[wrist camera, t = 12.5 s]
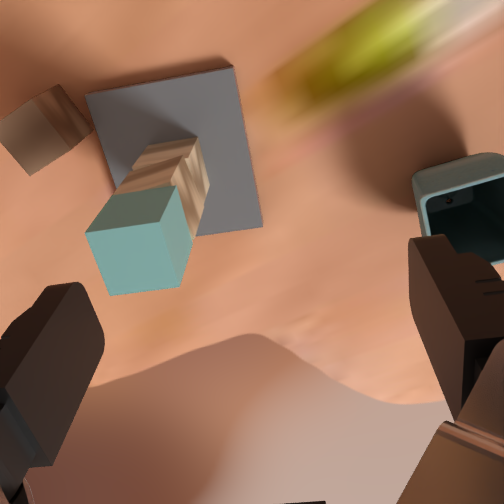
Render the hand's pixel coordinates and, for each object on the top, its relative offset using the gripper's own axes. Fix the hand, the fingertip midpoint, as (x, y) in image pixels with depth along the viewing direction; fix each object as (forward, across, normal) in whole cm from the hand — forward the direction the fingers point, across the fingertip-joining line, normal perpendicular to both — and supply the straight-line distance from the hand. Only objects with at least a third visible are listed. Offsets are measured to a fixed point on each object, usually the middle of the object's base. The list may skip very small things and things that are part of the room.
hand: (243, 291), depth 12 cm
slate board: (+36, +10, +8) cm, 38 cm away
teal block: (+23, +10, +8) cm, 26 cm away
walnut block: (+36, +21, +2) cm, 42 cm away
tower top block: (+29, +10, +8) cm, 32 cm away
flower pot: (+36, -16, +15) cm, 42 cm away
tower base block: (+35, +10, +8) cm, 37 cm away
